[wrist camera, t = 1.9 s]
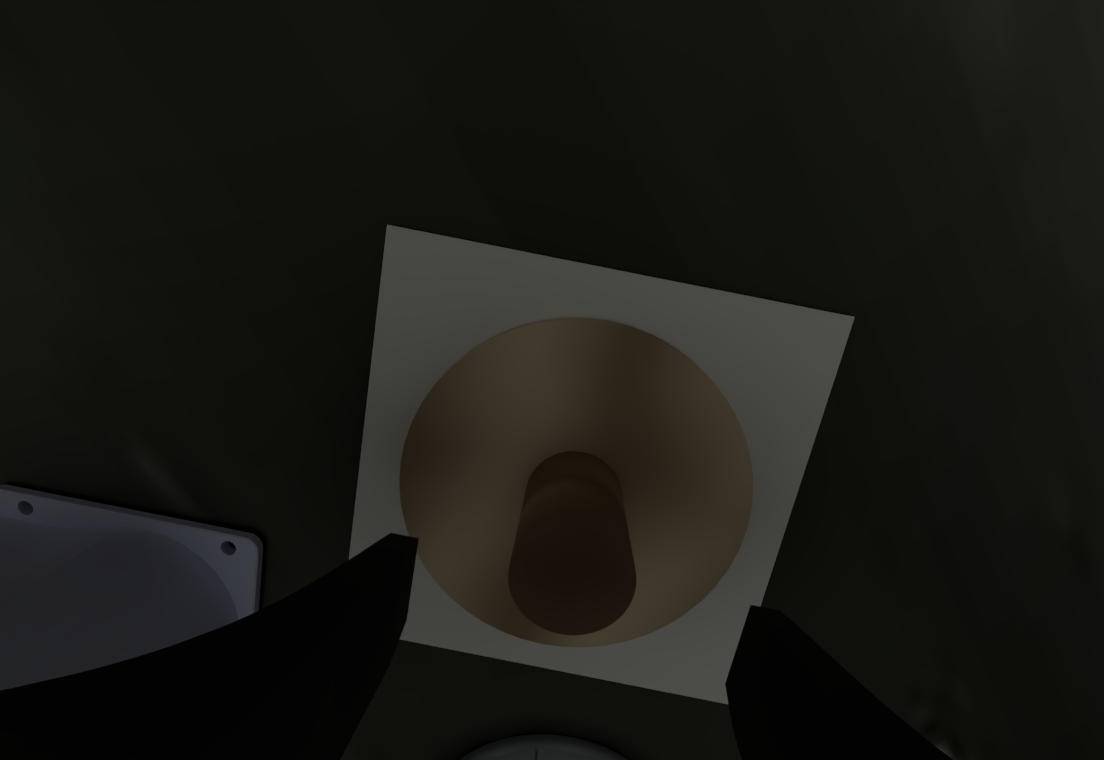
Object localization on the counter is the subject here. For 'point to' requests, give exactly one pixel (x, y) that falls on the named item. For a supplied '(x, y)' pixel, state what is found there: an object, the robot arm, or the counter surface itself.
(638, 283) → the mat
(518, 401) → the lid
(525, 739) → the bowl
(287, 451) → the counter surface
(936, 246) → the counter surface
